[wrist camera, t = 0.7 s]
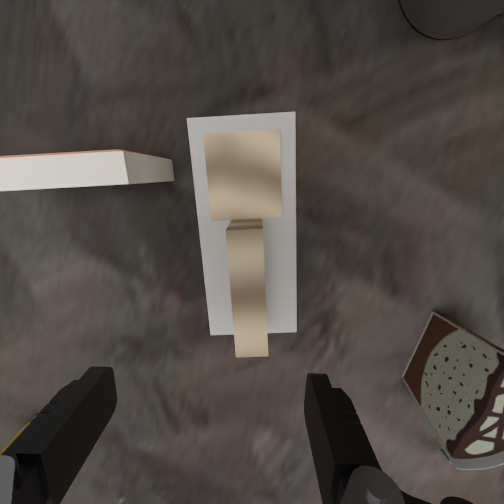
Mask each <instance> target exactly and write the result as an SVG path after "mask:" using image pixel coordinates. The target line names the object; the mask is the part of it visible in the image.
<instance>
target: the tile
mask: <svg viewBox="0 0 504 504" xmlns="http://www.w3.org/2000/svg"><path fill="white" fill-rule="evenodd" d="M166 181H175V180H174V172H173V164H172V160H171V159H167V158H163V157H158V156H153V155H147V154H142V153H137V152H131V151H126V150H121V149H115V150H98V151H81V152H64V153H47V154H30V155H12V156H0V191H13V190H31V189H49V188H68V187H86V186H104V185H123V184H138V183H152V182H166Z"/></svg>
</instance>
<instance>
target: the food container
mask: <svg viewBox="0 0 504 504" xmlns="http://www.w3.org/2000/svg"><path fill="white" fill-rule="evenodd" d="M499 344H500V345H501V346H502V347H503V348H504V343H501V342H500V343H499ZM401 378H402V380H403V382H404V383H405V385H406V387H407V389H408V390H409V392H410V394H411V395H412V397H413V399H414V400H415V402H416V404H417V405H418V407H419V409H420V410H421V412H422V414H423V416H424V417H425V419H426V421H427V422H428V424H429V426H430V427H431V429H432V431H433V432H434V434H435V436H436V437H437V439H438V441H439V443H440V444H441V446H442V448H443V449H438V451H439V452H440V453H441V454H442V455H443V456H444V458H445V459H446V460H447V461H448V462H449V463H452V464H453V466H454V467H455V468H456V469H462V470H480V469H488V468H492V467H497V466H500V465H503V464H504V350H503V349H501V348H500V347H498V346H496V345H494V344H493V343H491V342H489V341H487V340H486V339H484V338H482V337H481V336H479V335H477V334H475V333H474V332H472V331H470V330H469V329H467V328H465V327H463V326H462V325H460V324H458V323H457V322H455V321H453V320H451V319H450V318H448V317H446V316H444V315H442V314H440V313H438V312H435V311H431V313H430V316H429V318H428V320H427V322H426V324H425V326H424V328H423V330H422V333H421V335H420V337H419V339H418V341H417V343H416V345H415V347H414V350H413V352H412V354H411V356H410V358H409V360H408V362H407V364H406V367H405V369H404V371H403V373H402V375H401Z"/></svg>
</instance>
